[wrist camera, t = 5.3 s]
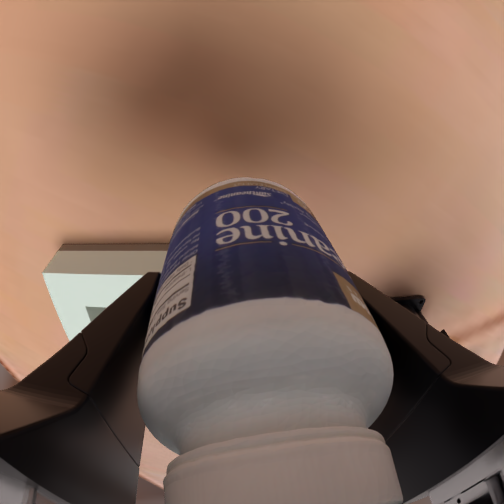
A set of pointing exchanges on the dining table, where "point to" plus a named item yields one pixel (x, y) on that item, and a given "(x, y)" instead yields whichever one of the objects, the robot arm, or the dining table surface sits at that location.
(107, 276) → the bore block
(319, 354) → the pill bottle
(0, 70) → the dining table surface
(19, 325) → the dining table surface
